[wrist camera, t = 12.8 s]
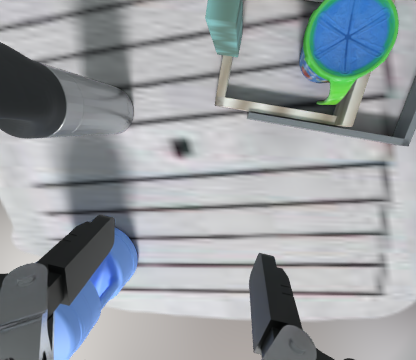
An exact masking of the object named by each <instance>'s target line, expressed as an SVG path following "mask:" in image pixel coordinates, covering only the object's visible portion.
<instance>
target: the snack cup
mask: <svg viewBox="0 0 416 360" xmlns="http://www.w3.org/2000/svg"><path fill="white" fill-rule="evenodd" d="M398 24H399V21H398V14H397V10H396V7H395V5H394V3H393V2H392V0H324V1H323V2H322V3H321V5H320V6H319V7H318V8H317V9H316V10H314V11H313V13H312V15H311V16H310V18H309V22H308V25H307V27H306V31H305V34H304V39H303V47H302V50H301V54H300V61H299V62H300V68H301V71H302V73H303V75H304V76H305V77H306V78H307V79H309V80H310V81H313V82H316V83H327V82H330V93H329V96H328V97H327V99H326V100H325V101H318V102H317V104H319V105H336V104H338V103H339V102H340V101H341V100H342V99H343V98H344V96H345V95H346V94H347V93H348V91H349V90H350V88H351V86H352V85H353V83H354V82H355V80H356V79H358V78H360V77H362V76H364V75H366V74H368V73H369V72H371V71H373V70H374V69H375V68H376V67H378V66H379V65H380V64H381V63H382V62H384V61H385V60H386V58H387V57H388V55H389V53H390V51H391V49H392V48H393V45H394V43H395V41H396V38H397V34H398Z"/></svg>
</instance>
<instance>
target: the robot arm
mask: <svg viewBox="0 0 416 360" xmlns="http://www.w3.org/2000/svg"><path fill="white" fill-rule="evenodd" d="M133 115H134V114H133V105H132V102H131V100H130V98H129V97H128V95H127V94H126V93H125V92H124V91H123V90H121V89H119V88H117V87H114V86H111V85H108V84H105V83H102V82H99V81H96V80H93V79H90V78H87V77H83V76H80V75H77V74H74V73H71V72H68V71H65V70H62V69H58V68H55V67H52V66H49V65H46V64H42V63H39V62H36V61H33V60H31V59H29V58H27V57H25V56H24V55H22V54H20V53H19V52H17V51H16V50H14V49H12V48H10V47H9V46H7V45H5V44H3V43H1V42H0V129H1V130H2V131H4V132H6V133H7V134H10V135H12V136H15V137H19V138H48V137H66V136H85V135H106V134H118V133H122V132H123V131H125V130H126V129H127V128H128V127H129V126H130V124H131V122H132V120H133ZM114 239H115V219H114V218H112V217H108V216H103V215H98V216H97V217H96V218H95V219H94V220H93V221H92V222H91V223H90V222H85V223H83V224H81V225H79V226H77V227H75V228H74V229H73V230H72V231H71V232H70V233H69V235H67V236H65V237H64V238H63V240H62V241H60V242H59V243H58V244H57V245H55V246H54V247H53V248H52V249H51V250H50V251H49V252H48V253H47V254H45V255H44V256H43V257H42V258H41V259H40V260H39V261H38V262H36V263H31V264H26V265H23V266H20V267H18V268H16V269H14V270H13V271H11V272H10V273H9V274H0V360H54V324H55V310H56V308H57V307H58V306H59V305H60V304H64V305H68V306H70V304H71V303H72V302H73V300H74V299H75V298H76V296H77V295H78V294H79V292H80V291H81V290H82V288H83V287H84V286H85V284H86V283H87V282H88V280H89V279H90V278H91V276H92V275H93V274H94V272H95V271H96V270H97V268H98V267H99V266H100V264H101V263H102V262H103V260H104V259H105V258H106V256H107V255H108V254H109V252H110V251H111V249H112V247H113V244H114ZM249 289H250V304H251V319H252V334H253V349H254V353H257V354H261V355H262V360H334V359H333V358H331V357H329V356H327V355H326V354H324V353H322V352H321V351H319V350H318V349H317V348H316V347H315V345H314V343H313V341H312V339H311V338H310V337H309V336H308V334H307V333H305V332H304V331H303V329H302V326H301V322H300V318H299V315H298V311H297V307H296V304H295V300H294V297H293V293H292V289H291V285H290V282H289V278H288V276H287V275H286V273H285V272H284V270H283V269H282V268H277V267H276V262H275V258H274V256H270V255H266V254H262V253H259V254H258V256H257V259H256V261H255V264H254V266H253V269H252V271H251V274H250V280H249ZM344 360H354V359H350V358H347V359H344Z"/></svg>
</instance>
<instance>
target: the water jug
mask: <svg viewBox="0 0 416 360" xmlns="http://www.w3.org/2000/svg"><path fill="white" fill-rule="evenodd" d="M137 261H138V258H137V252H136V249H135V246H134V244H133V243H132V241H131V240H130V239H129V237H128V236H127V235H126V234H125V233H123V232H122V231H120V230H119V229H117V228H115V239H114V244H113V247H112V249H111V251H110V252H109V254H108V255H107V256H106V258H105V259H104V260H103V262H102V263H101V264H100V266H99V267H98V268H97V270H96V271H95V272H94V274H93V275H92V276H91V278H90V279H89V280H88V282H87V283H86V284H85V286H84V287H83V288H82V290H81V291H80V292H79V294H78V295H77V296H76V298H75V299H74V300H73V302H72V303H71V304H70V306H68V305H64V304H60V305H59V306H58V307H57V308H56V310H55V324H54V360H69V358H70V357H71V356H72V354H73V353H74V352H75V351H76V350H77V349H78V348H79V347H80V345H81V344H82V343H83V341H84V340H85V339H86V337H87V336H88V334H89V332H90V330H91V329H92V328H93V326H94V325H95V324H96V322H97V321H98V319H99V316H100V313H101V310H102V308H103V307H104V306H105V305H106V303H107V302H108V301H109V300H110V299H112V298H114V297H115V296H116V295H117V294H118V293H119V292H120V290H121V289H122V288H123V286H124V285H125V284H126V282H127V281H128V280H129V279H130V278H131V277H132V275H133V274H134V272H135V270H136V267H137ZM37 262H38V261H37Z"/></svg>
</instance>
